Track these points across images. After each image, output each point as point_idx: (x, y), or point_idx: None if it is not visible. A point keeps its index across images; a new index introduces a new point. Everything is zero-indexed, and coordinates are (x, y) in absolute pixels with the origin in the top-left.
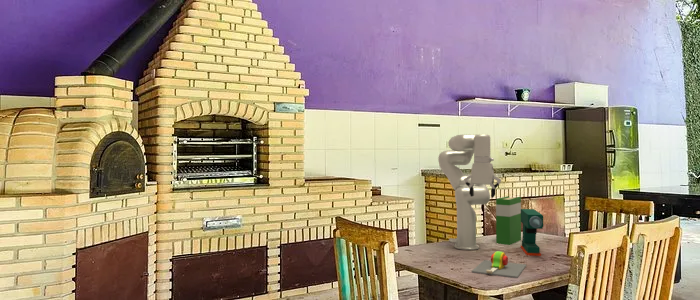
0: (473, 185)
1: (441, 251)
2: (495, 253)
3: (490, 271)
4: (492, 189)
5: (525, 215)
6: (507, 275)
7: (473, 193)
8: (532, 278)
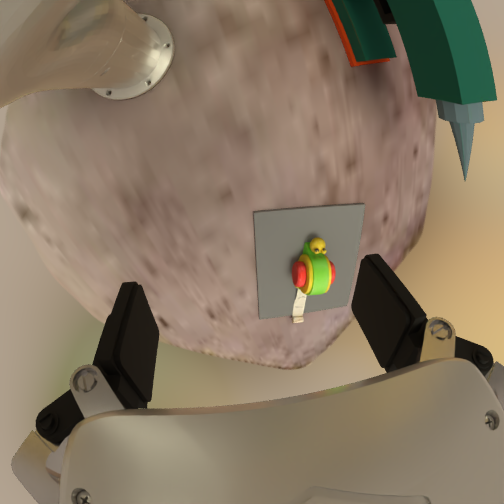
0: (122, 405)
1: (86, 165)
2: (310, 294)
3: (300, 322)
4: (393, 366)
5: (434, 31)
6: (330, 308)
7: (136, 307)
8: None
